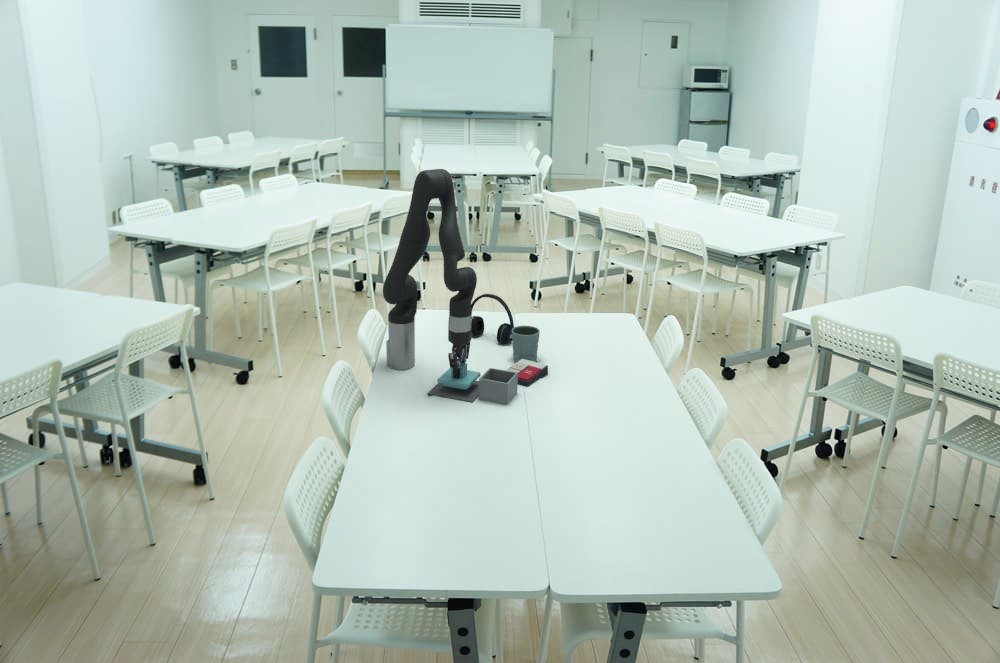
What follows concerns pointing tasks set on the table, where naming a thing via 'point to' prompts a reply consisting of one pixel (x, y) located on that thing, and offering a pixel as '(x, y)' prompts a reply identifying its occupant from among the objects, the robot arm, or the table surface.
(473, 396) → the mat
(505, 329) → the headphones
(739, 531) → the table surface
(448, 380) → the lid
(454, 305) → the robot arm
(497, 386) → the box
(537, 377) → the calculator
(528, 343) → the grey cup
